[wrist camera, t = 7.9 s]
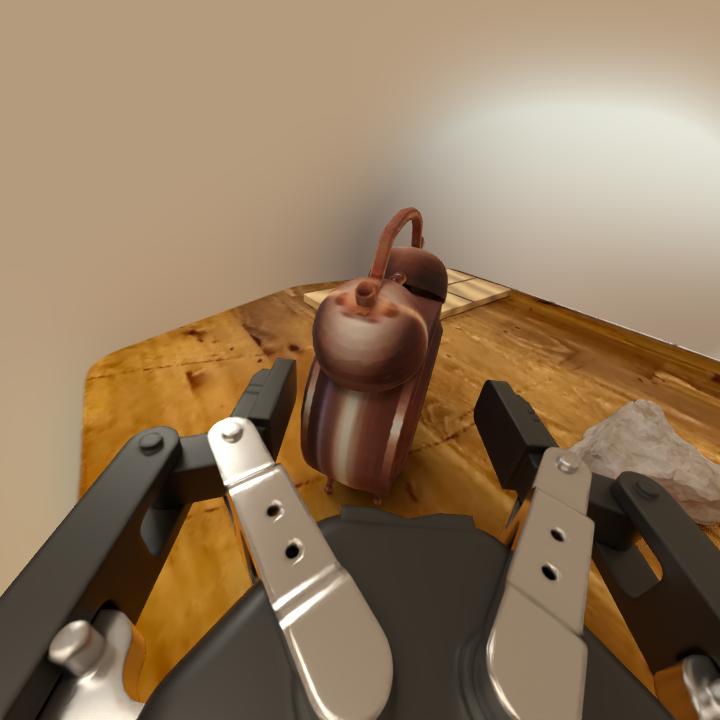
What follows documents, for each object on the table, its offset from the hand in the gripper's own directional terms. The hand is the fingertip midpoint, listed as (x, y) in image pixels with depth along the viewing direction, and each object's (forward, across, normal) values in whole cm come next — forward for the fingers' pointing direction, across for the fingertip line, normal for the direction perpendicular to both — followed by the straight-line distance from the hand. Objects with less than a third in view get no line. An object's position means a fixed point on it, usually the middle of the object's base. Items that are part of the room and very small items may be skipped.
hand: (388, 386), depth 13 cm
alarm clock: (+3, 0, +9) cm, 9 cm away
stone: (+2, -16, +9) cm, 18 cm away
